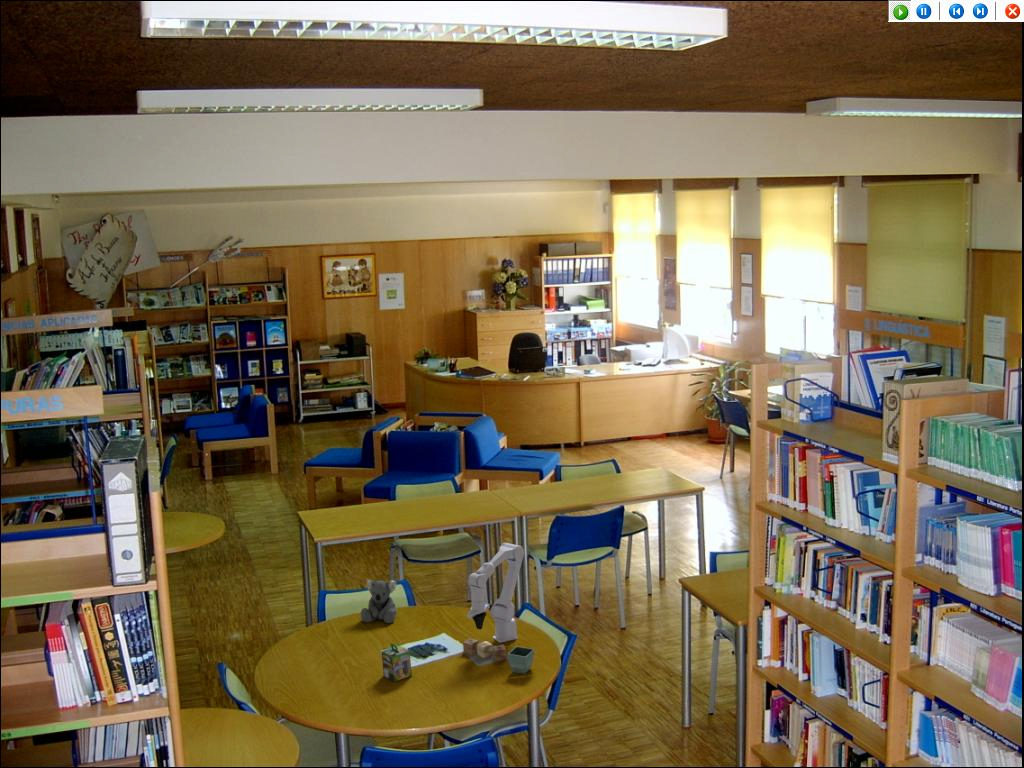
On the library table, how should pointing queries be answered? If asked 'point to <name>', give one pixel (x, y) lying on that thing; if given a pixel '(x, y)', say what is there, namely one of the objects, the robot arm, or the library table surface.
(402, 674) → the green printed carry box
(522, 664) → the flower pot
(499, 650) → the pip block one
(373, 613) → the koala plush
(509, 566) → the robot arm
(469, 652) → the pip block two
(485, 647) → the plain block
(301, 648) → the library table surface
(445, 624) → the library table surface
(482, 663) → the felt mat
